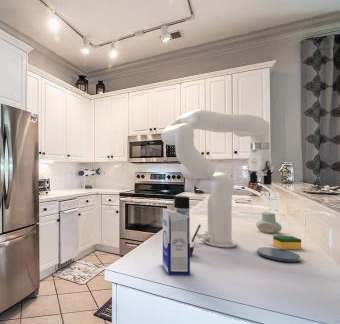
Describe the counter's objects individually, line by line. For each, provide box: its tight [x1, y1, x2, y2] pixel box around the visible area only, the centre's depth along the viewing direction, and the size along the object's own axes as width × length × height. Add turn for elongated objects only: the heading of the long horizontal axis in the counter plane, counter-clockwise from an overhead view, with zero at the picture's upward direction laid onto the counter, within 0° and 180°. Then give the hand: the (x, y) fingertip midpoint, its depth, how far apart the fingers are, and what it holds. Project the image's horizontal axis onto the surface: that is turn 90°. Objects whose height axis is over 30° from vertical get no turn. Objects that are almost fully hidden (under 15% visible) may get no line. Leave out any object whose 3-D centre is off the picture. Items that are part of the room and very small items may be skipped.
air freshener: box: [255, 211, 283, 234], centre depth 131 cm, size 11×8×10 cm
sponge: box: [272, 235, 302, 250], centre depth 106 cm, size 8×5×4 cm, turn 89°
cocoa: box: [190, 223, 201, 256], centre depth 96 cm, size 10×6×12 cm, turn 49°
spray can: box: [173, 195, 190, 217], centre depth 116 cm, size 7×7×20 cm
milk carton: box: [162, 207, 191, 276], centre depth 82 cm, size 7×7×20 cm
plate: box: [256, 247, 301, 263], centre depth 94 cm, size 13×13×2 cm
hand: (260, 183), depth 117 cm, fingers open, 9 cm apart
